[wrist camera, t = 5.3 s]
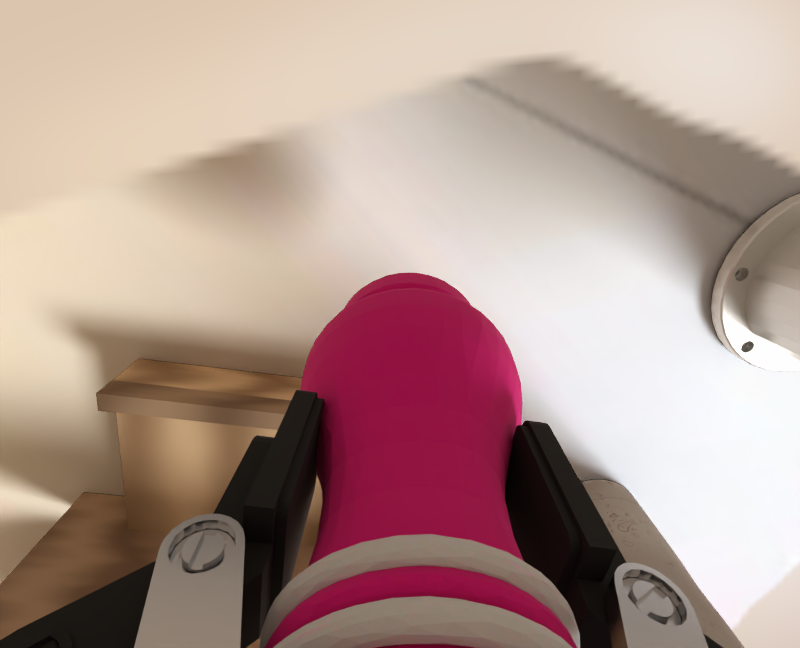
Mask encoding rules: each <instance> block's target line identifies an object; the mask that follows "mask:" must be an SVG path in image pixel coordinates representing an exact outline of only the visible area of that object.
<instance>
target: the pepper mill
mask: <svg viewBox="0 0 800 648" xmlns="http://www.w3.org/2000/svg"><path fill="white" fill-rule="evenodd" d="M300 390H303V391H311V392H317V398H322V399H324V407H323V412H322V417H321V424H320V431H319V438H318V444H317V454H316V472H317V477H318V479H319V482H320V485H321V489H322V501H323V502H322V509H321V515H320V521H319V528H318V534H317V541H316V544H315V547H314V550H313V553H312V556H311V559H310V562H309V565H308V568H306V569H305V570H304V571H302V572H301V573H300V574H298V575H297V576H296V577H294V578H293V579H292V580H291V581H290V582H289V583H288V584H287V585H286V586H285V588H284V589H283V590H282V591H281V592H280V594H279V595H278V596H277V597H276V599H275V600H274V602H273V604H272V606H271V608H270V609H269V612H268V614H267V617H266V619H265V622H264V625H263V628H262V630H261V636H260V648H580V633H579V630H578V627H577V624H576V621H575V618H574V615H573V612H572V610H571V608H570V606H569V604H568V602H567V601H566V599H565V598H564V597H563V596H562V594H561V593H560V592H559V591H558V589H557V588H556V587H555V585H554V584H553V583H552V582H551V581H550V580H549V579H548V578H546V577H545V576H544V575H543V574H542V573H541V572H540V571H538V570H537V569H535V568H533V567H532V566H530V565H529V564H527V563H526V562H524V561H523V558H522V556H521V553H520V551H519V548H518V546H517V543H516V541H515V539H514V536H513V531H512V527H511V523H510V519H509V514H508V510H507V506H506V502H505V486H506V480H507V474H508V468H509V462H510V456H511V450H512V440H513V436H514V432H515V429H516V427H517V426H518V425H521V417H522V393H521V382H520V379H519V375H518V372H517V368H516V365H515V363H514V360H513V357H512V354H511V351H510V349H509V347H508V345H507V343H506V342H505V340H504V338H503V336H502V335H501V334H500V332H499V331H498V330H497V328H496V327H495V326H494V324H493V323H492V322H491V321H490V320H488V319H487V318H486V317H485V316H484V315H483V314H482V313H481V312H480V311H478V310H477V309H475V308H474V307H472V306H471V305H470V303H469V302H468V301H467V299H466V298H465V297H464V296H463V295H462V294H461V293H460V292H459V291H458V290H457V289H455V288H454V287H452V286H451V285H449V284H448V283H446V282H445V281H442V280H440V279H438V278H435V277H432V276H429V275H424V274H419V273H398V274H393V275H388V276H385V277H383V278H380V279H378V280H375V281H373V282H371V283H370V284H368V285H367V286H365V287H363V288H362V289H360V290H359V291H358V292H357V293H356V294H355V295H354V296H353V297H352V298H351V299H350V300H349V302H348V303H347V305H346V306H345V308H344V310H342V311H341V312H340V313H339V314H338V315H337V316H336V317H335V318H334V319H333V320H332V321H330V322H329V323H328V324H327V326H326V327H325V328H324V330H323V331H322V332H321V334H320V335H319V336H318V338H317V339H316V340H315V342H314V345H313V347H312V349H311V351H310V354H309V356H308V358H307V362H306V365H305V369H304V373H303V377H302V382H301V388H300Z"/></svg>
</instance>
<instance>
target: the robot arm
mask: <svg viewBox="0 0 800 648" xmlns="http://www.w3.org/2000/svg"><path fill="white" fill-rule="evenodd" d="M711 311H712V320H713V325H714V327H715V330H716V333H717V336H718V337H719V339H720V340H721V342H722V343H723V344H724V346H725V347H726V348H727V349H728V350H729V351H731V352H732V353H733V354H734V355H735V356H737V357H739V358H740V359H742V360H744V361H746V362H747V363H749V364H751V365H754V366H757V367H759V368H762V369H765V370H773V371H798V370H800V193H799V194H797V195H794V196H792V197H789V198H788V199H786V200H784V201H783V202H781V203H780V204H778V205H776V206H775V207H773V208H771V209H770V210H769V211H767V212H766V213H765V214H764V215H762V216H761V217H760V218H759V219H757V220H756V221H755V222H754V223H753V224H752V225H751V226H750V227H749V228H748V229H747V230H746V231H745V232H744V233H743V234H742V236H741V237H740V238H739V239H738V240H737V242H736V243H735V245H734V246H733V247H732V249H731V250H730V252H729V253H728V255H727V256H726V258H725V260H724V262H723V264H722V266H721V268H720V270H719V272H718V275H717V278H716V282H715V285H714V288H713V294H712V303H711ZM323 407H324V399H322V398H317V392H311V391H303V390H296V391H295V393H294V395H293V398H292V400H291V402H290V404H289V406H288V409H287V411H286V413H285V415H284V417H283V420H282V422H281V424H280V426H279V428H278V431H277V433H276V435H275V437H266V436H259V435H256V436H255V437H254V438H253V440H252V441H251V443H250V445H249V447H248V449H247V451H246V453H245V455H244V456H243V458H242V460H241V462H240V464H239V466H238V468H237V470H236V472H235V473H234V475H233V477H232V479H231V481H230V483H229V485H228V487H227V489H226V490H225V492H224V494H223V496H222V498H221V500H220V502H219V504H218V506H217V507H216V509H215V511H214V513H213V514H204V515H200V516H195V517H193V518H191V519H188V520H186V521H184V522H182V523H181V524H179V525H178V526H177V527H175V528H174V529H172V530H171V531H170V533H169V534H168V535H167V536H166V537H165V538H164V540H163V542H162V544H161V546H160V549H159V551H158V555H157V559H156V561H154V562H152V563H150V564H148V565H146V566H144V567H142V568H140V569H138V570H136V571H134V572H132V573H130V574H128V575H126V576H124V577H122V578H120V579H118V580H116V581H114V582H112V583H110V584H108V585H106V586H104V587H102V588H100V589H98V590H96V591H94V592H92V593H90V594H88V595H86V596H84V597H82V598H80V599H78V600H76V601H74V602H72V603H70V604H68V605H66V606H64V607H62V608H60V609H58V610H56V611H54V612H52V613H50V614H48V615H46V616H44V617H42V618H40V619H38V620H36V621H34V622H32V623H30V624H28V625H26V626H24V627H22V628H20V629H18V630H16V631H14V632H13V633H11V634H9V635H8V636H6V637H5V638H3V639H1V640H0V648H247V647H248V646H249V645H251V644H252V643H253V642H255V641H256V640H258V639H259V637H260V634H261V630H262V628H263V625H264V622H265V619H266V617H267V614H268V612H269V609H270V608H271V606H272V604H273V602H274V600H275V599H276V597H277V596H278V595H279V594H280V592H281V591H282V590H283V589H284V588H285V586H286V585H287V584H288V583H289V582H290V581H291V578H292V574H293V570H294V567H295V563H296V559H297V555H298V551H299V548H300V544H301V540H302V536H303V532H304V528H305V525H306V521H307V517H308V513H309V509H310V505H311V502H312V498H313V494H314V490H315V484H316V478H317V472H316V454H317V444H318V438H319V431H320V424H321V417H322V412H323ZM505 502H506V506H507V510H508V514H509V519H510V523H511V527H512V531H513V536H514V539H515V541H516V543H517V546H518V548H519V551H520V553H521V556H522V558H523V561H524V562H526V563H527V564H529V565H530V566H532V567H533V568H535V569H537V570H538V571H540V572H541V573H542V574H543V575H544V576H545V577H546V578H548V579H549V580H550V581H551V582H552V583H553V584H554V585H555V587H556V588H557V589H558V591H559V592H560V593H561V594H562V596H563V597H564V598H565V599H566V601H567V602H568V604H569V606H570V608H571V610H572V612H573V615H574V618H575V621H576V624H577V627H578V630H579V633H580V648H723V647H722V646H720V645H719V644H718V643H716V642H715V641H713V640H712V639H711V638H709V637H708V636H706V635H705V634H704V633H703V632H702V629H701V627H700V624H699V621H698V619H697V616H696V613H695V611H694V609H693V607H692V605H691V603H690V601H689V599H688V598H687V597H686V595H685V594H684V593H683V592H682V591H681V589H680V588H679V587H678V586H677V585H675V584H674V583H673V582H672V581H671V580H670V579H669V578H667V577H666V576H664V575H663V574H661V573H660V572H658V571H657V570H655V569H652V568H650V567H648V566H646V565H642V564H638V563H627V562H626V561H625V559H624V557H623V555H622V553H621V552H620V550H619V548H618V546H617V544H616V543H615V541H614V539H613V537H612V536H611V534H610V532H609V530H608V528H607V527H606V525H605V523H604V521H603V519H602V518H601V516H600V514H599V512H598V510H597V509H596V507H595V505H594V503H593V502H592V500H591V498H590V496H589V494H588V493H587V491H586V489H585V487H584V485H583V484H582V482H581V481H580V479H579V478H578V477H577V475H576V473H575V472H574V470H573V468H572V466H571V464H570V463H569V461H568V459H567V457H566V455H565V454H564V452H563V450H562V448H561V446H560V445H559V443H558V441H557V439H556V437H555V436H554V434H553V432H552V430H551V428H550V427H549V425H548V424H546V423H541V422H533V421H525V422H524V423H523V425H518V426H517V427H516V429H515V432H514V436H513V440H512V450H511V456H510V462H509V468H508V474H507V480H506V486H505Z"/></svg>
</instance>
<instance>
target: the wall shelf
mask: <svg viewBox="0 0 800 648" xmlns="http://www.w3.org/2000/svg"><path fill="white" fill-rule="evenodd" d="M301 382H302V378H297V377H289V376H280V375H272V374H263V373H255V372H247V371H238V370H230V369H221V368H213V367H205V366H196V365H188V364H179V363H171V362H163V361H154V360H146V359H138V360H137V361H135V362H134V363H133V364H132V365H131V366H129V367H128V368H127V369H126V370H124V371H123V372H122V373H121V374H119V375H118V376H117V377H116V378H114V379H113V380H112V381H111V382H109V383H108V384H107V385H106V386H105V387H103V388H102V389H101V390H100V391H98V392H97V393H96V397H97V405H98V411H106V412H115V413H116V417H117V427H118V436H119V446H120V455H121V465H122V474H123V483H124V493H125V496H117V495H106V494H95V493H83V494H82V495H81V496H80V497H79V498H78V499H77V501H76V502H75V503H74V504H73V505H72V506H71V507H70V508H69V509H68V511H67V512H66V513H65V514H64V515H63V516H62V517H61V518H60V519H59V520H58V522H57V523H56V524H55V525H54V526H53V527H52V528H51V529H50V530H49V532H48V533H47V534H46V535H45V536H44V537H43V538H42V539H41V540H40V541H39V543H38V544H37V545H36V546H35V547H34V548H33V549H32V550H31V551H30V552H29V554H28V555H27V556H26V557H25V558H24V559H23V560H22V561H21V562H20V564H19V565H18V566H17V567H16V568H15V569H14V570H13V571H12V572H11V573H10V575H9V576H8V577H7V578H6V579H5V580H4V581H3V582H2V583H1V585H0V640H1V639H3V638H5V637H6V636H8V635H9V634H11V633H13V632H14V631H16V630H18V629H20V628H22V627H24V626H26V625H28V624H30V623H32V622H34V621H36V620H38V619H40V618H42V617H44V616H46V615H48V614H50V613H52V612H54V611H56V610H58V609H60V608H62V607H64V606H66V605H68V604H70V603H72V602H74V601H76V600H78V599H80V598H82V597H84V596H86V595H88V594H90V593H92V592H94V591H96V590H98V589H100V588H102V587H104V586H106V585H108V584H110V583H112V582H114V581H116V580H118V579H120V578H122V577H124V576H126V575H128V574H130V573H132V572H134V571H136V570H138V569H140V568H142V567H144V566H146V565H148V564H150V563H152V562H154V561H156V559H157V555H158V551H159V549H160V546H161V544H162V542H163V540H164V538H165V537H166V536H167V535H168V534H169V533H170V531H171V530H172V529H174V528H175V527H177V526H178V525H179V524H181V523H182V522H184V521H186V520H188V519H191V518H193V517H195V516H200V515H204V514H213V513H214V511H215V509H216V507H217V506H218V504H219V502H220V500H221V498H222V496H223V494H224V492H225V490H226V489H227V487H228V485H229V483H230V481H231V479H232V477H233V475H234V473H235V472H236V470H237V468H238V466H239V464H240V462H241V460H242V458H243V456H244V455H245V453H246V451H247V449H248V447H249V445H250V443H251V441H252V440H253V438H254V437H255V436H256V435H259V436H266V437H275V435H276V433H277V431H278V428H279V426H280V424H281V422H282V420H283V417H284V415H285V413H286V411H287V409H288V406H289V404H290V402H291V400H292V398H293V395H294V393H295V391H296V390H300V388H301ZM322 502H323V501H322V489H321V485H320V482H319V479H318V477H317V478H316V484H315V490H314V494H313V498H312V502H311V505H310V509H309V513H308V517H307V521H306V525H305V528H304V532H303V536H302V540H301V544H300V548H299V551H298V555H297V559H296V563H295V567H294V570H293V574H292V578H291V580H292V579H293V578H294V577H296V576H297V575H298V574H300V573H301V572H302V571H304V570H305V569H306V568H308V565H309V562H310V559H311V556H312V553H313V550H314V547H315V544H316V541H317V534H318V528H319V521H320V515H321V509H322ZM260 636H261V634H260ZM247 648H260V637H259V639H258V640H256V641H255V642H253V643H252V644H251V645H249V646H248V647H247Z"/></svg>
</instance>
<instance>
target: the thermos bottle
mask: <svg viewBox="0 0 800 648" xmlns="http://www.w3.org/2000/svg"><path fill="white" fill-rule="evenodd" d="M582 484H583V485H584V487H585V489H586V491H587V493H588V494H589V496H590V498H591V500H592V502H593V503H594V505H595V507H596V509H597V510H598V512H599V514H600V516H601V518H602V519H603V521H604V523H605V525H606V527H607V528H608V530H609V532H610V534H611V536H612V537H613V539H614V541H615V543H616V544H617V546H618V548H619V550H620V552H621V553H622V555H623V557H624V559H625V561H626V562H627V563H638V564H642V565H646V566H648V567H650V568H652V569H655V570H657V571H658V572H660V573H661V574H663V575H664V576H666V577H667V578H669V579H670V580H671V581H672V582H673V583H674V584H675V585H677V586H678V587H679V588H680V589H681V591H682V592H683V593H684V594H685V595H686V597H687V598H688V599H689V601H690V603H691V605H692V607H693V609H694V611H695V613H696V616H697V619H698V621H699V624H700V627H701V629H702V632H703V633H704V634H705V635H706V636H708V637H709V638H711V639H712V640H713V641H715V642H716V643H718V644H719V645H720V646H722V647H723V648H744V647H743V645H742V644H741V642H740V641H739V640H738V639H737V637H736V636H735V634H734V633H733V632H732V630H731V629H730V628H729V626H728V625H727V624H726V622H725V621H724V620H723V618H722V617H721V616H720V615H719V613H718V612H717V611H716V610H715V608H714V607H713V606H712V605H711V603H710V602H709V601H708V600H707V598H706V597H705V596H704V594H703V593H702V592H701V590H700V589H699V588H698V586H697V585H696V583H695V582H694V580H693V579H692V577H691V576H690V575H689V573H688V572H687V570H686V569H685V567H684V566H683V564H682V563H681V561H680V560H679V558H678V557H677V555H676V554H675V553H674V551H673V550H672V549H671V547H670V546H669V544H668V543H667V542H666V540H665V539H664V538H663V536H662V535H661V534H660V532H659V531H658V529H657V528H656V527H655V525H654V524H653V523H652V521H651V520H650V519H649V517H648V516H647V514H646V513H645V512H644V510H643V509H642V508H641V506H640V505H639V504H638V502H637V501H636V500H635V498H634V497H633V495H632V494H631V493H630V492H629V491H628V490H627V489H626V488H625V487H623V486H621V485H620V484H618V483H615V482H612V481H607V480H588V481H582Z"/></svg>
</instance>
